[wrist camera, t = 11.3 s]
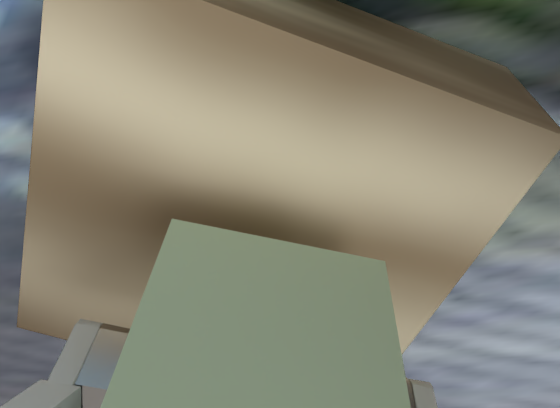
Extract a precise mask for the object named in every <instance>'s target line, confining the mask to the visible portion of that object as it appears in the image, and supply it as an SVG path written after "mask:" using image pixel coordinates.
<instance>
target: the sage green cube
mask: <svg viewBox="0 0 560 408" xmlns="http://www.w3.org/2000/svg"><path fill="white" fill-rule="evenodd" d="M100 408H411V406H410V400H409V394H408V388H407V383H406V377H405V371H404V366H403V360H402V354H401V349H400V343H399V337H398V331H397V326H396V320H395V314H394V309H393V303H392V297H391V292H390V286H389V280H388V274H387V269H386V263H385V261H382V260H377V259H372V258H367V257H362V256H357V255H352V254H347V253H342V252H337V251H332V250H327V249H322V248H317V247H312V246H307V245H302V244H297V243H292V242H287V241H282V240H277V239H272V238H267V237H262V236H257V235H252V234H247V233H242V232H237V231H232V230H227V229H222V228H217V227H212V226H207V225H202V224H197V223H192V222H187V221H182V220H177V219H172V220H171V222H170V225H169V228H168V230H167V233H166V235H165V238H164V241H163V243H162V246H161V249H160V251H159V254H158V257H157V259H156V262H155V265H154V267H153V270H152V272H151V275H150V278H149V280H148V283H147V286H146V288H145V291H144V294H143V296H142V299H141V301H140V304H139V307H138V309H137V312H136V315H135V317H134V320H133V323H132V325H131V328H130V331H129V333H128V336H127V338H126V341H125V344H124V346H123V349H122V352H121V354H120V357H119V360H118V362H117V365H116V368H115V370H114V373H113V375H112V378H111V381H110V383H109V386H108V389H107V391H106V394H105V397H104V399H103V402H102V404H101V407H100Z"/></svg>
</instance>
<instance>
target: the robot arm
mask: <svg viewBox="0 0 560 408" xmlns="http://www.w3.org/2000/svg"><path fill="white" fill-rule="evenodd" d="M129 331H130V329H129V328H124V327H119V326H115V325H110V324H105V323H100V322H95V321H90V320H84V319H80V320H79V321H78V322H77V323H76V324H75V326H74V328H73V330H72V332H71V334H70V336H69V338H68V340H67V342H66V344H65V346H64V348H63V350H62V352H61V354H60V356H59V358H58V360H57V362H56V364H55V366H54V368H53V370H52V372H51V374H50V376H49V378H48V380H39V381H37V382H36V383H34V384H33V385H31V386H30V387H28V388H27V389H25V390H24V391H23V392H21V393H20V394H18V395H17V396H15V397H14V398H12V399H11V400H9V401H8V402H6V403H5V404H3V405H2V406H0V408H100V407H101V404H102V402H103V399H104V397H105V394H106V391H107V389H108V386H109V383H110V381H111V378H112V375H113V373H114V370H115V368H116V365H117V362H118V360H119V357H120V354H121V352H122V349H123V346H124V344H125V341H126V338H127V336H128V333H129ZM406 383H407V388H408V394H409V400H410V406H411V408H438V407H437V403H436V399H435V394H434V390H433V387H432V385H431V384H430V383H429V382H424V381H419V380H413V379H407V378H406Z"/></svg>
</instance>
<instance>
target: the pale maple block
mask: <svg viewBox="0 0 560 408" xmlns="http://www.w3.org/2000/svg"><path fill="white" fill-rule="evenodd" d="M559 150H560V127H559V126H558V125H557V124H556V123H555V122H554V120H553V119H552V118H551V117H550V116H549V115H548V114H547V112H546V111H545V110H544V109H543V108H542V107H541V106H540V104H539V103H538V102H537V101H536V100H535V99H534V98H533V97H532V95H531V94H530V93H529V92H528V91H527V90H526V89H525V87H524V86H523V85H522V84H521V83H520V82H519V81H518V79H517V78H516V77H515V76H514V75H513V74H512V73H511V72H510V70H509V69H508V68H507V67H505V66H503V65H500V64H498V63H495V62H492V61H490V60H487V59H485V58H482V57H480V56H477V55H474V54H472V53H469V52H467V51H464V50H462V49H459V48H457V47H454V46H451V45H449V44H446V43H444V42H441V41H439V40H436V39H433V38H431V37H428V36H426V35H423V34H421V33H418V32H416V31H413V30H410V29H408V28H405V27H403V26H400V25H398V24H395V23H392V22H390V21H387V20H385V19H382V18H380V17H377V16H375V15H372V14H369V13H367V12H364V11H362V10H359V9H357V8H354V7H351V6H349V5H346V4H344V3H341V2H339V1H336V0H43V12H42V25H41V37H40V49H39V61H38V74H37V86H36V98H35V110H34V123H33V135H32V147H31V159H30V172H29V184H28V196H27V208H26V221H25V233H24V245H23V257H22V270H21V282H20V294H19V306H18V319H17V327H19V328H22V329H26V330H30V331H34V332H38V333H42V334H45V335H49V336H53V337H57V338H61V339H65V340H68V338H69V336H70V334H71V332H72V330H73V328H74V326H75V324H76V323H77V322H78V321H79V320H80V319H84V320H90V321H95V322H100V323H105V324H110V325H115V326H119V327H124V328H129V329H130V328H131V325H132V323H133V320H134V317H135V315H136V312H137V309H138V307H139V304H140V301H141V299H142V296H143V294H144V291H145V288H146V286H147V283H148V280H149V278H150V275H151V272H152V270H153V267H154V265H155V262H156V259H157V257H158V254H159V251H160V249H161V246H162V243H163V241H164V238H165V235H166V233H167V230H168V228H169V225H170V222H171V220H172V219H177V220H182V221H187V222H192V223H197V224H202V225H207V226H212V227H217V228H222V229H227V230H232V231H237V232H242V233H247V234H252V235H257V236H262V237H267V238H272V239H277V240H282V241H287V242H292V243H297V244H302V245H307V246H312V247H317V248H322V249H327V250H332V251H337V252H342V253H347V254H352V255H357V256H362V257H367V258H372V259H377V260H382V261H385V263H386V269H387V274H388V280H389V286H390V292H391V297H392V303H393V309H394V314H395V320H396V326H397V331H398V337H399V343H400V349H401V354H403V353H404V351H405V350H406V349H407V347H408V346H409V345H410V343H411V342H412V341H413V340H414V338H415V337H416V336H417V334H418V333H419V332H420V330H421V329H422V328H423V327H424V325H425V324H426V323H427V321H428V320H429V319H430V317H431V316H432V315H433V314H434V312H435V311H436V310H437V308H438V307H439V306H440V304H441V303H442V302H443V301H444V299H445V298H446V297H447V295H448V294H449V293H450V291H451V290H452V289H453V288H454V286H455V285H456V284H457V282H458V281H459V280H460V278H461V277H462V276H463V275H464V273H465V272H466V271H467V269H468V268H469V267H470V265H471V264H472V263H473V262H474V260H475V259H476V258H477V256H478V255H479V254H480V252H481V251H482V250H483V248H484V247H485V246H486V245H487V243H488V242H489V241H490V239H491V238H492V237H493V235H494V234H495V233H496V232H497V230H498V229H499V228H500V226H501V225H502V224H503V222H504V221H505V220H506V219H507V217H508V216H509V215H510V213H511V212H512V211H513V209H514V208H515V207H516V206H517V204H518V203H519V202H520V200H521V199H522V198H523V196H524V195H525V194H526V193H527V191H528V190H529V189H530V187H531V186H532V185H533V183H534V182H535V181H536V180H537V178H538V177H539V176H540V174H541V173H542V172H543V170H544V169H545V168H546V167H547V165H548V164H549V163H550V161H551V160H552V159H553V157H554V156H555V155H556V154H557V152H558V151H559Z"/></svg>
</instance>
